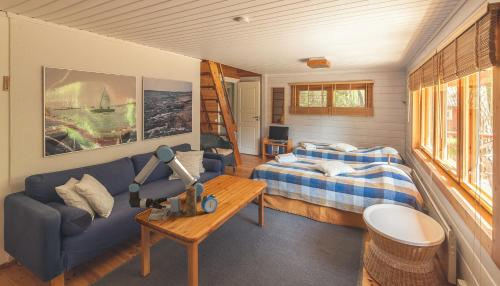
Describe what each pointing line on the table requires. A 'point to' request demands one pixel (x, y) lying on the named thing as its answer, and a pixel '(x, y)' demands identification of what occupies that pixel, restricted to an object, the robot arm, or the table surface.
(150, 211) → the table surface
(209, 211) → the alarm clock
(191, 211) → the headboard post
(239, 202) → the table surface
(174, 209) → the rail end
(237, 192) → the table surface
